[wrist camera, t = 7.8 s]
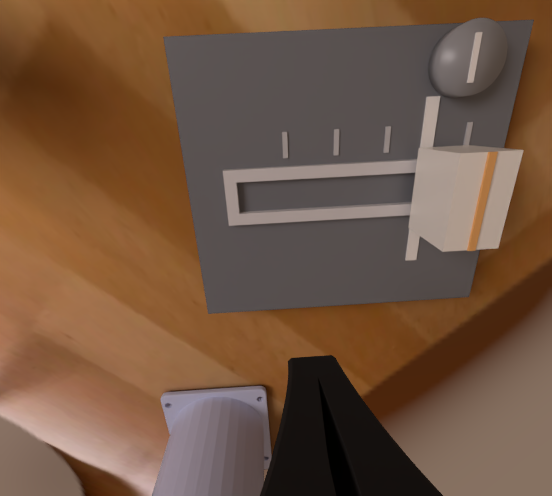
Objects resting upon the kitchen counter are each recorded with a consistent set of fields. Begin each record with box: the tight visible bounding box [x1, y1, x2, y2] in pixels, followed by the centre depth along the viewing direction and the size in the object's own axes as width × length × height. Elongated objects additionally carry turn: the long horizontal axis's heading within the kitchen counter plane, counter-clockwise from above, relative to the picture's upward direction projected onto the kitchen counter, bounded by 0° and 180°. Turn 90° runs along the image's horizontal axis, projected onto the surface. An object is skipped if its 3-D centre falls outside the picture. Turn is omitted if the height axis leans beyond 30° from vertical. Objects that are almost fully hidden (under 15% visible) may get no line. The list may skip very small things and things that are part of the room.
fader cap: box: [408, 145, 523, 252], centre depth 13 cm, size 4×2×4 cm, turn 3°
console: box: [164, 18, 534, 314], centre depth 16 cm, size 14×16×3 cm
